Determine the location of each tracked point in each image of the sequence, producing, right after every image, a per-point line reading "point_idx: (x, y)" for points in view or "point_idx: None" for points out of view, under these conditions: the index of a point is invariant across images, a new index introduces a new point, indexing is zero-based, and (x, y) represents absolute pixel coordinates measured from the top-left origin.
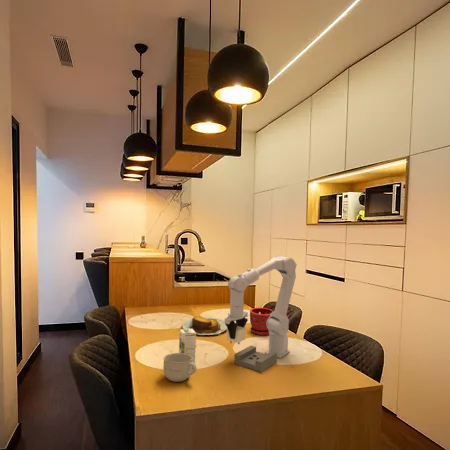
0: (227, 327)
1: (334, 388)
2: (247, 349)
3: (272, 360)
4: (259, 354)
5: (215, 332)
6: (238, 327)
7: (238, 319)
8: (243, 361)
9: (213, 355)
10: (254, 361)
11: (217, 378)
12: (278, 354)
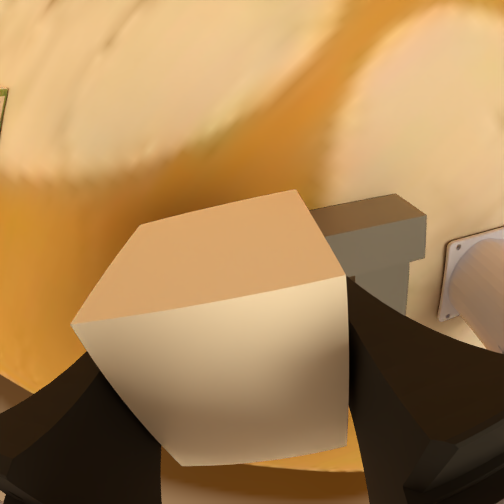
0: (38, 403)
1: (326, 467)
2: (345, 256)
3: None
4: (382, 288)
5: None
6: (288, 413)
7: (398, 494)
8: None
9: (171, 42)
10: None
11: (48, 302)
12: (454, 307)
